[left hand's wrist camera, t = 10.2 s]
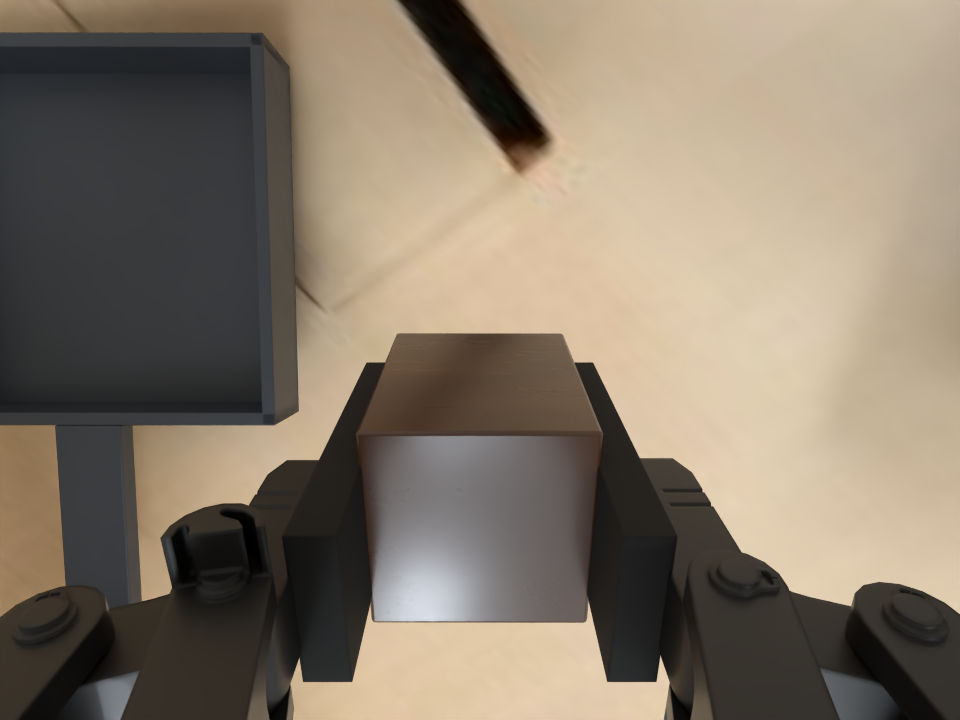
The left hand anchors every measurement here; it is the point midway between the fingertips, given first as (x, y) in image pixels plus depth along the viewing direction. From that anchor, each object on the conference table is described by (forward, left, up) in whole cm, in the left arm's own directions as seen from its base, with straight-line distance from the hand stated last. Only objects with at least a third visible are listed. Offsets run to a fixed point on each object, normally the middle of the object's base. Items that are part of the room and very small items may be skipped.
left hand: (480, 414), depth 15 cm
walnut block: (0, 0, 0) cm, 0 cm away
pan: (+18, +4, -15) cm, 24 cm away
